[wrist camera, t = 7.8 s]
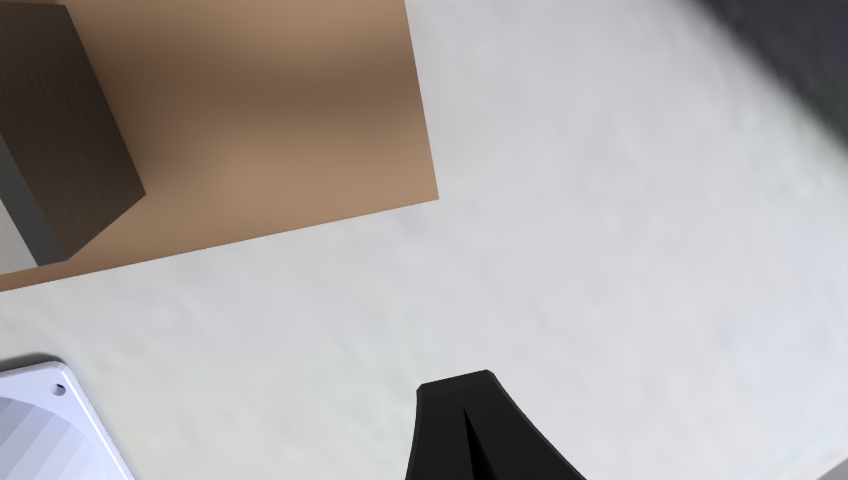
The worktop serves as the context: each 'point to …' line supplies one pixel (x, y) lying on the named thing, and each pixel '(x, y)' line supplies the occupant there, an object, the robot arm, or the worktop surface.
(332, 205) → the gauge board
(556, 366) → the worktop surface
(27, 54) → the gauge carriage
